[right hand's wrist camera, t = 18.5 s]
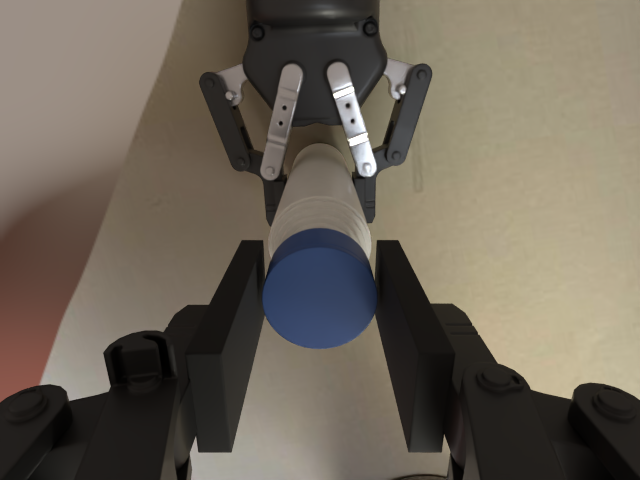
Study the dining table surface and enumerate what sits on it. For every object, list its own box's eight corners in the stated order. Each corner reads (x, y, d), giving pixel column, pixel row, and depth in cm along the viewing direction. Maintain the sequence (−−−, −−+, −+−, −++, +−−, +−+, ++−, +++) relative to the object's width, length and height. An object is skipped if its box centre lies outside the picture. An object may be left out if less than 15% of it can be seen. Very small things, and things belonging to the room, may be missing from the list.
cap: (373, 227, 14) (381, 247, 12) (368, 320, 15) (374, 349, 14) (266, 226, 14) (258, 246, 12) (270, 319, 15) (263, 348, 14)
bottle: (321, 208, 34) (323, 370, 15) (281, 172, 33) (225, 296, 14) (358, 169, 33) (414, 288, 13) (318, 131, 32) (314, 201, 12)
